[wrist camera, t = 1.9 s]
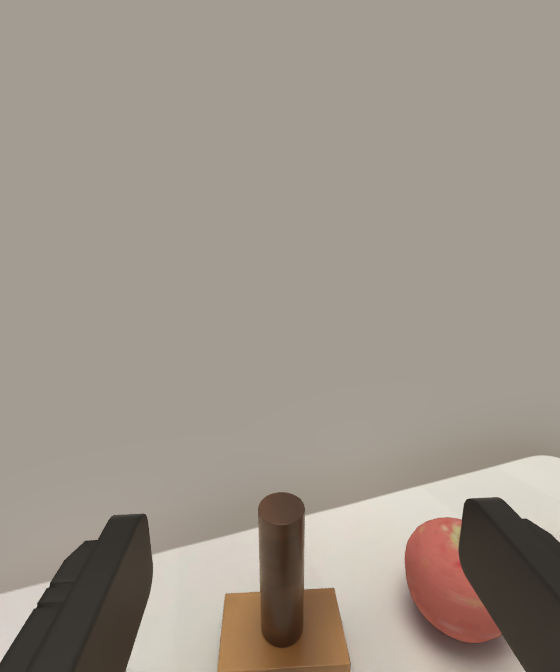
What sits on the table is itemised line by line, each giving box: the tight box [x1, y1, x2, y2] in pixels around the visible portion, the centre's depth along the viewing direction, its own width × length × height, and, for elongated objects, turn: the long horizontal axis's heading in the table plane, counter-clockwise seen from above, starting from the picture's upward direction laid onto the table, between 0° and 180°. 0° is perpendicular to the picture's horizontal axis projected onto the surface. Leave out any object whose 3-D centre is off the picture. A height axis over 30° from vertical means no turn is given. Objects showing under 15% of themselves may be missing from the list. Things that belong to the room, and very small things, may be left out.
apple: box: [405, 518, 502, 643], centre depth 26 cm, size 7×7×8 cm
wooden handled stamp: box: [217, 492, 350, 672], centre depth 23 cm, size 8×5×12 cm, turn 93°
